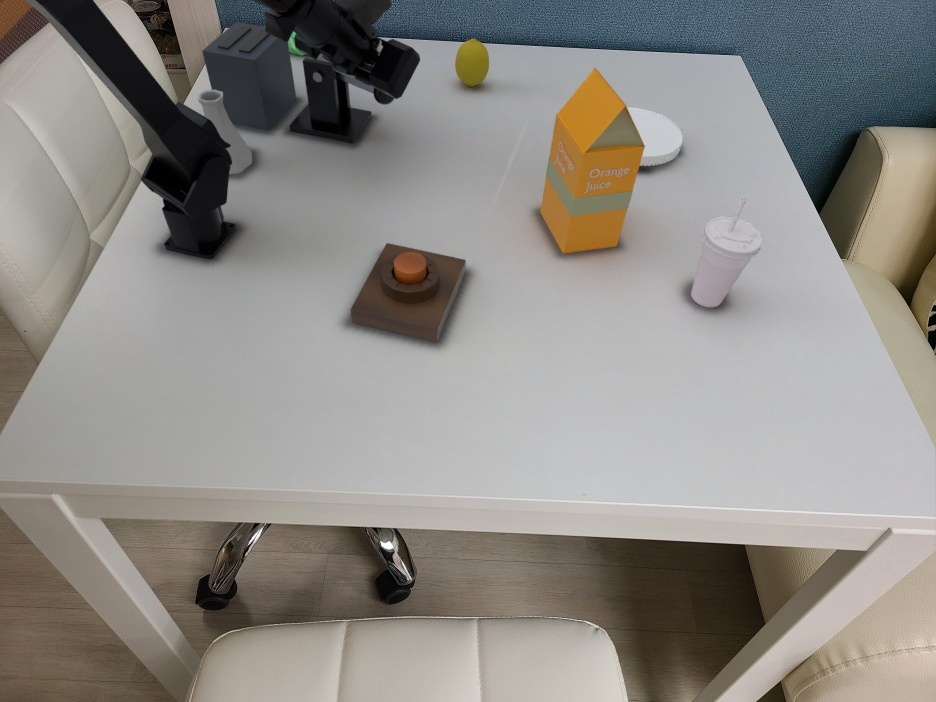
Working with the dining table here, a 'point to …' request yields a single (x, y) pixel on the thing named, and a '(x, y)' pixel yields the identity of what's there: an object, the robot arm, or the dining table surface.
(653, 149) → the plastic lid
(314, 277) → the dining table surface
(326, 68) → the lever bracket
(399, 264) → the button
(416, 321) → the control block
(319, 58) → the black lever
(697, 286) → the smoothie
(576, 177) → the orange juice
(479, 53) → the lemon
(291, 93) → the toaster
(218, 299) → the dining table surface
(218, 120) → the flask
